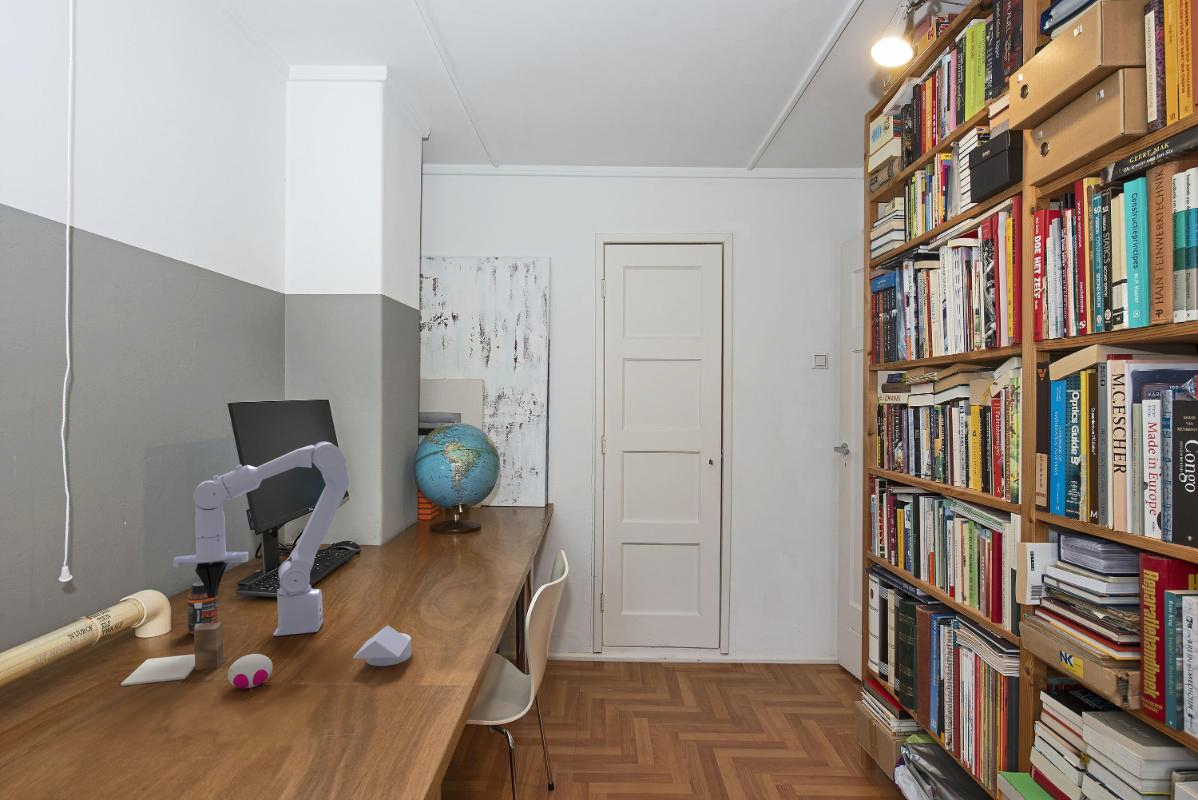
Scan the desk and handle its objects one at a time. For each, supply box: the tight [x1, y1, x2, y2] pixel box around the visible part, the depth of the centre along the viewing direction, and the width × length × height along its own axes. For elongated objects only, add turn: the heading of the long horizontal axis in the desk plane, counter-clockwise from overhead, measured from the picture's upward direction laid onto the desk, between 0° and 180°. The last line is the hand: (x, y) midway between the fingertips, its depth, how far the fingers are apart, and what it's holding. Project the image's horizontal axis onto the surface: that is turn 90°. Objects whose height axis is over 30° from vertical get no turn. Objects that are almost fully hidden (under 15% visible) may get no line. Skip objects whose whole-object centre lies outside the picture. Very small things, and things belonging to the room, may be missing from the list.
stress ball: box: [227, 653, 274, 692], centre depth 127 cm, size 8×8×7 cm
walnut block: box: [193, 621, 224, 671], centre depth 137 cm, size 4×4×8 cm
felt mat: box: [120, 653, 195, 687], centre depth 135 cm, size 11×12×1 cm
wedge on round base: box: [352, 624, 412, 667], centre depth 137 cm, size 9×7×13 cm
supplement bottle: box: [187, 580, 219, 636], centre depth 157 cm, size 6×6×11 cm
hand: (212, 596), depth 149 cm, fingers closed
